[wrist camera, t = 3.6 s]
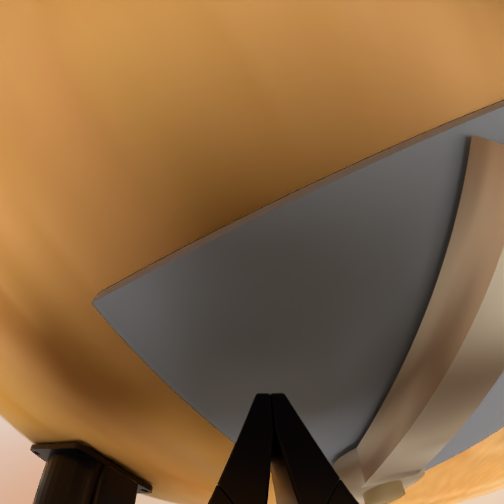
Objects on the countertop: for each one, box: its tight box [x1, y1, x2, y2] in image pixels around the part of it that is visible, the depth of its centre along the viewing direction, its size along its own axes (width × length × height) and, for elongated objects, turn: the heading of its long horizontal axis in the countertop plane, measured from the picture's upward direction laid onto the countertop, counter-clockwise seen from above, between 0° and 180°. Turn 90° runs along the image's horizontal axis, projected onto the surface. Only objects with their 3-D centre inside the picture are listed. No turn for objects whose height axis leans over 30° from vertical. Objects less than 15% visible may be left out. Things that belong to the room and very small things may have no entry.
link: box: [333, 135, 504, 504], centre depth 9 cm, size 17×4×3 cm, turn 178°
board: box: [92, 100, 504, 471], centre depth 11 cm, size 24×22×1 cm
